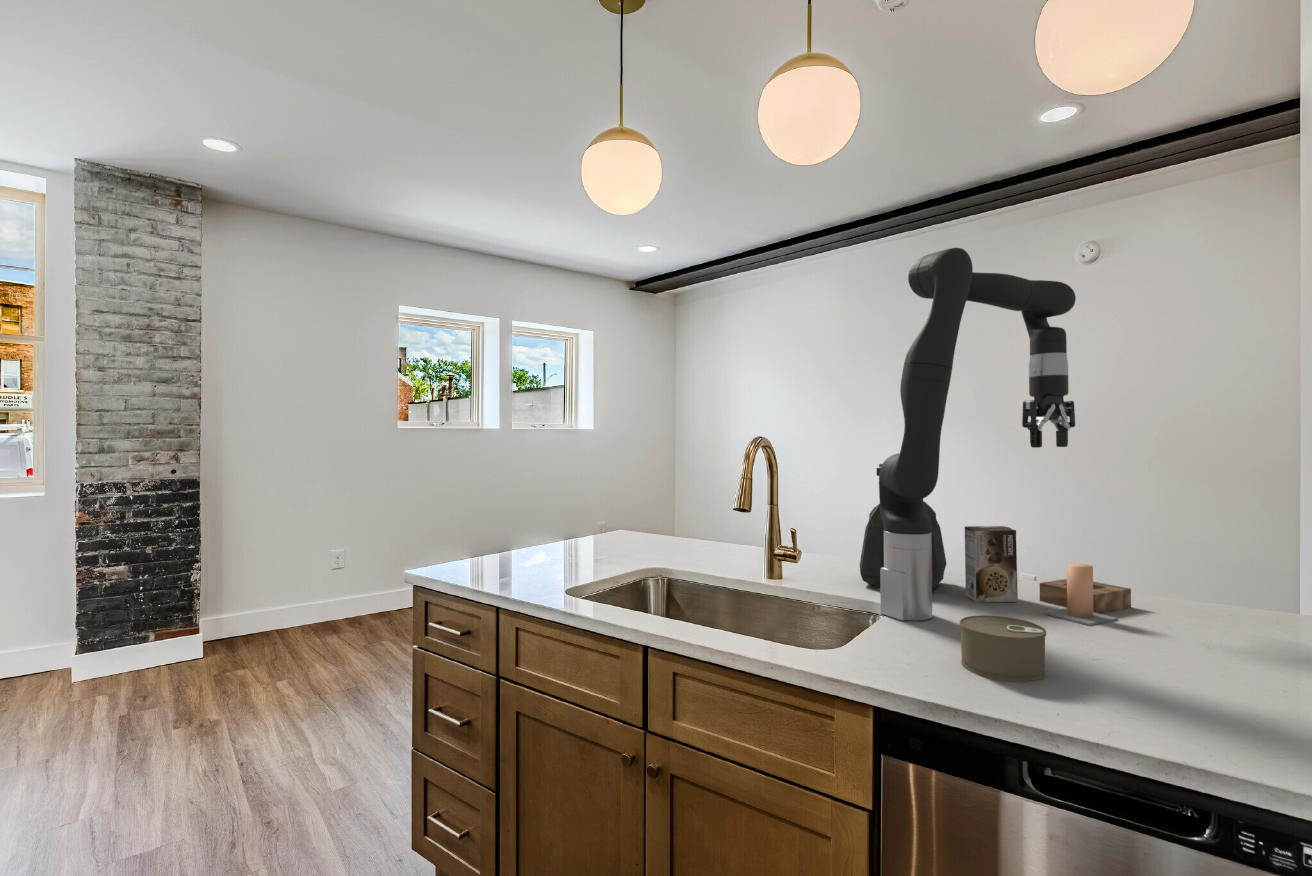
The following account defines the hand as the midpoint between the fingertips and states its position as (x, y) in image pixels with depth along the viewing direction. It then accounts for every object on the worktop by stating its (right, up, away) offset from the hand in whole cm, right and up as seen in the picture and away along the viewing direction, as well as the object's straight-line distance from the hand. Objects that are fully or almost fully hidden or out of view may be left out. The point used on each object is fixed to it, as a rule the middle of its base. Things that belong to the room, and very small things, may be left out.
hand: (1049, 447), depth 142 cm
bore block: (+5, -34, -4) cm, 35 cm away
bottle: (-27, -35, +16) cm, 47 cm away
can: (-33, -35, -42) cm, 64 cm away
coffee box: (-12, -35, +1) cm, 37 cm away
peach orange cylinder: (-2, -34, -14) cm, 37 cm away
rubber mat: (-2, -34, -14) cm, 37 cm away
